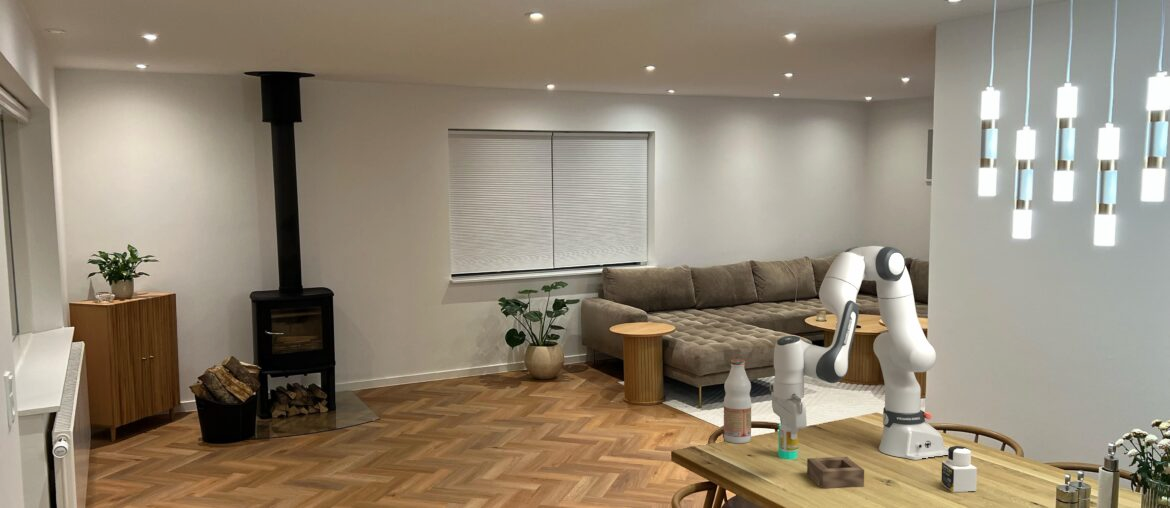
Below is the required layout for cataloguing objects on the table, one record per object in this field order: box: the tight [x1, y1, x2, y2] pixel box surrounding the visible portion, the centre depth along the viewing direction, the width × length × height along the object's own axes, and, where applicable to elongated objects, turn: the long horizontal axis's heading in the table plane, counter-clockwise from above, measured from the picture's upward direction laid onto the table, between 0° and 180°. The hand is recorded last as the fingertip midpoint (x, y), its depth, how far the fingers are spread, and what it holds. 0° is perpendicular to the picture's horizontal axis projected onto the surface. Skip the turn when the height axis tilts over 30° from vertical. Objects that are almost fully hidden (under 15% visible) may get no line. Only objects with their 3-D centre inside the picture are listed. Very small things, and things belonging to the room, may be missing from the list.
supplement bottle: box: [780, 418, 799, 452], centre depth 262 cm, size 5×5×10 cm
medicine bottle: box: [941, 445, 978, 493], centre depth 252 cm, size 7×7×12 cm
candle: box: [777, 423, 798, 460], centre depth 283 cm, size 6×6×12 cm
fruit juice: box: [723, 358, 752, 444], centre depth 301 cm, size 9×9×28 cm
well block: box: [806, 456, 865, 490], centre depth 260 cm, size 12×12×5 cm
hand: (789, 435), depth 263 cm, fingers closed on supplement bottle, 5 cm apart
